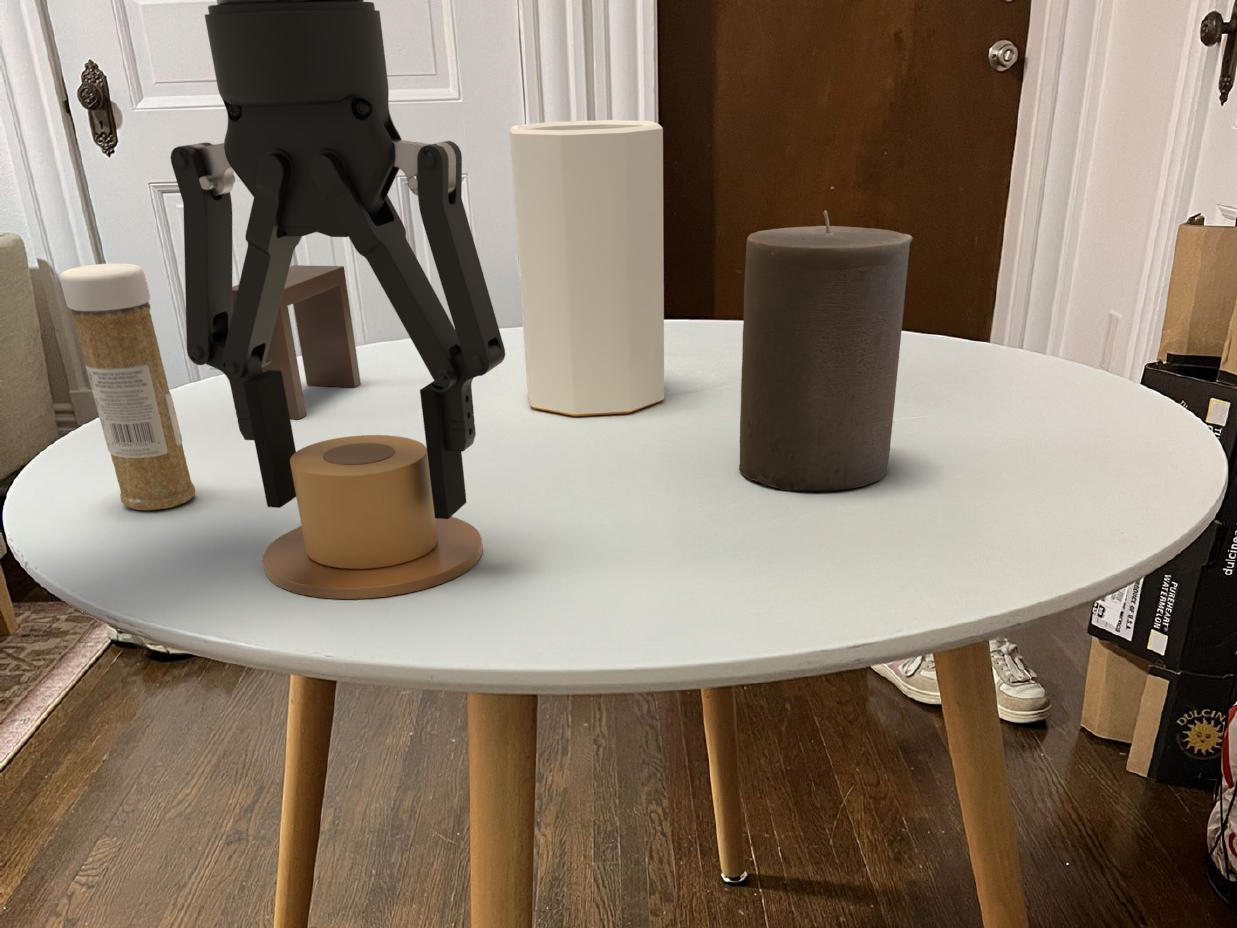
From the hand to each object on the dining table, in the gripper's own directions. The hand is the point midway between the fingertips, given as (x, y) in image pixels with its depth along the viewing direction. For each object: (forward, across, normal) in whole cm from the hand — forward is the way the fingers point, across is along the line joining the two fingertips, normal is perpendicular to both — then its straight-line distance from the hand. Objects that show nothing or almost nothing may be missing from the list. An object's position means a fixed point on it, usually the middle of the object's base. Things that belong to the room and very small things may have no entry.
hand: (366, 504), depth 64 cm
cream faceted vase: (+3, -3, -35) cm, 35 cm away
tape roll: (+2, 0, 0) cm, 2 cm away
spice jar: (+3, +18, -6) cm, 19 cm away
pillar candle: (+3, -22, -20) cm, 30 cm away
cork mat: (+3, 0, 0) cm, 3 cm away
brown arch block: (+3, +20, -31) cm, 37 cm away
